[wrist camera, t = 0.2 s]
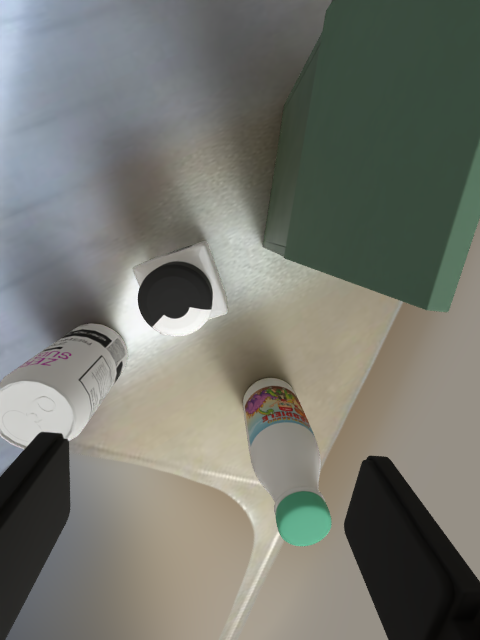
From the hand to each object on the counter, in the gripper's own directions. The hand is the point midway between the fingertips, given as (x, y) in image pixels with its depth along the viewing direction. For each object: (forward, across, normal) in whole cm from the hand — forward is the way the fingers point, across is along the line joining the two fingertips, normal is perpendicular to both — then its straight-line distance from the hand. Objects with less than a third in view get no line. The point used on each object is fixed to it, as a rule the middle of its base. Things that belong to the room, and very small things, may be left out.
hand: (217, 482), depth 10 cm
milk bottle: (+32, -9, +15) cm, 36 cm away
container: (+32, +4, -1) cm, 32 cm away
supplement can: (+32, +15, +10) cm, 36 cm away
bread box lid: (+9, -6, -14) cm, 17 cm away
